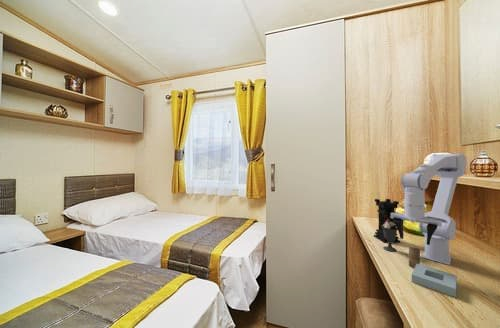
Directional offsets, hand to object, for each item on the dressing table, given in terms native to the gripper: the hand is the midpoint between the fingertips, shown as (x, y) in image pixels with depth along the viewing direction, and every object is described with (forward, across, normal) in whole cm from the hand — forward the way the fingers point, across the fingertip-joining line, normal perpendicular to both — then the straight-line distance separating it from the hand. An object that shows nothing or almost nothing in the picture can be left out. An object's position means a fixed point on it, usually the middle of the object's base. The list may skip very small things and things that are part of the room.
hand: (414, 240), depth 73 cm
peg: (+10, 0, 0) cm, 10 cm away
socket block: (+10, +6, -8) cm, 14 cm away
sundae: (+10, -10, +11) cm, 18 cm away
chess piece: (+10, -14, +23) cm, 28 cm away
